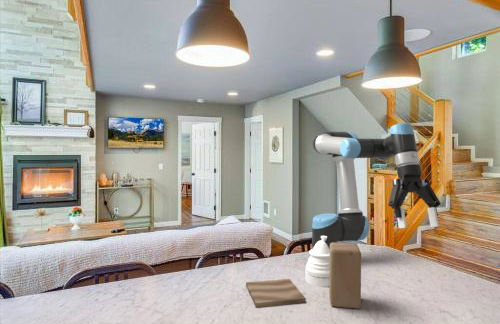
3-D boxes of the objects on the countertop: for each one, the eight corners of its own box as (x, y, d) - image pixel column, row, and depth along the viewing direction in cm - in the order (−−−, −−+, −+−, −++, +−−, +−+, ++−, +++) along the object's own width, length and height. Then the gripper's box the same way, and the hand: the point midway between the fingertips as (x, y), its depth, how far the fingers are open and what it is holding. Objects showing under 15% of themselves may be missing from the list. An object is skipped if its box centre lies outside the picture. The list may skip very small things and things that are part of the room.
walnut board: (246, 286, 128) (246, 282, 128) (289, 282, 131) (289, 278, 131) (255, 307, 110) (255, 303, 110) (305, 302, 114) (305, 298, 114)
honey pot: (316, 272, 143) (316, 232, 142) (343, 280, 134) (343, 237, 133) (299, 280, 134) (299, 237, 133) (326, 289, 125) (326, 243, 124)
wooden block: (361, 310, 108) (361, 251, 108) (330, 307, 110) (330, 249, 110) (357, 297, 118) (357, 242, 118) (329, 294, 120) (329, 241, 120)
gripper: (386, 162, 106) (397, 227, 101) (444, 164, 114) (457, 225, 108) (371, 167, 113) (380, 229, 108) (427, 169, 121) (438, 227, 115)
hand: (419, 227), depth 108 cm, fingers open, 13 cm apart
